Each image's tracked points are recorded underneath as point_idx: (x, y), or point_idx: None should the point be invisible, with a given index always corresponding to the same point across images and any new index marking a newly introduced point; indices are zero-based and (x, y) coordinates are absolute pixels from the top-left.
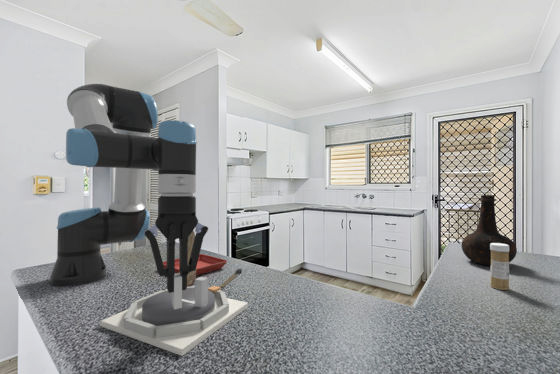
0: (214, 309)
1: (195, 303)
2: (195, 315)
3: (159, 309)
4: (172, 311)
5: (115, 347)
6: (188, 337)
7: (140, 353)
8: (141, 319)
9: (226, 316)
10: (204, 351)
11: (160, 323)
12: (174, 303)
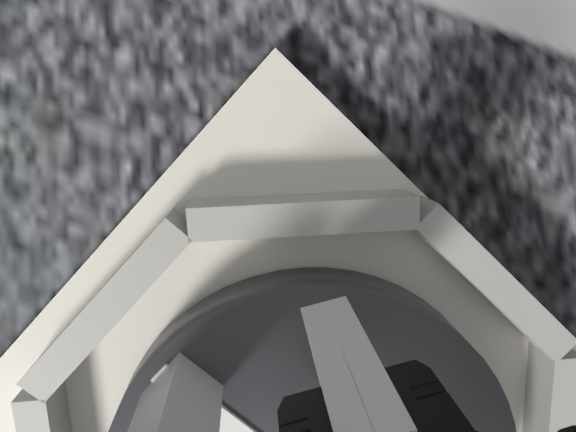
0: None
1: (217, 392)
2: (217, 303)
3: None
4: None
5: (556, 213)
6: (250, 153)
7: (452, 133)
8: None
9: (47, 322)
10: (171, 59)
11: (399, 289)
12: (353, 312)
